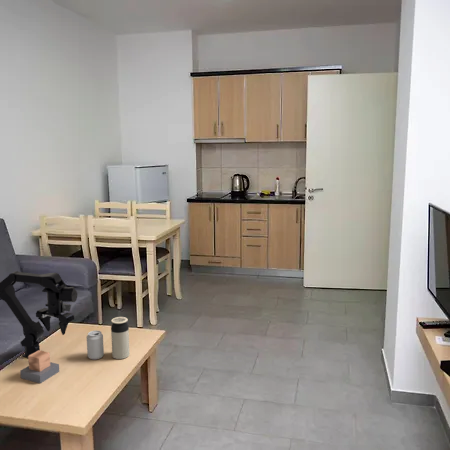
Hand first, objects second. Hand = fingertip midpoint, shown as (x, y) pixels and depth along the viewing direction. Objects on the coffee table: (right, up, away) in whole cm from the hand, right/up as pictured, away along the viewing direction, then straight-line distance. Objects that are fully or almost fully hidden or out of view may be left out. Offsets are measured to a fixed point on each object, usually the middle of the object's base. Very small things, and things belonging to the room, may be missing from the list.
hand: (56, 332), depth 214 cm
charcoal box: (-1, -15, -14) cm, 21 cm away
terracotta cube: (-1, -11, -15) cm, 19 cm away
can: (+18, -12, +2) cm, 22 cm away
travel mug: (+29, -12, +4) cm, 32 cm away
